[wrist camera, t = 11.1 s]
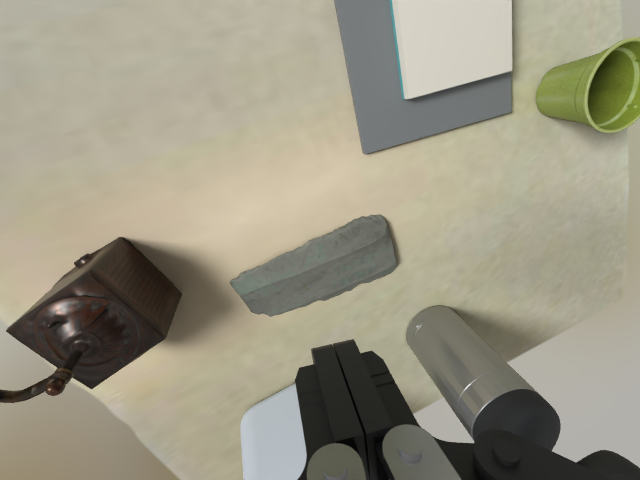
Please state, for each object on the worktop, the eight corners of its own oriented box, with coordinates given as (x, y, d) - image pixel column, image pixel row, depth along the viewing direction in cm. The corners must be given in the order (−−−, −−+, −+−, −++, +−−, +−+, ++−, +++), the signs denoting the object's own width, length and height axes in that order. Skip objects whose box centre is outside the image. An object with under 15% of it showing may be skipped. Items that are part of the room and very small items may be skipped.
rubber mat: (504, -84, 35) (510, -88, 35) (507, 111, 43) (511, 111, 43) (326, -43, 34) (328, -47, 33) (362, 153, 41) (364, 154, 41)
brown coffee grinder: (118, 229, 39) (24, 316, 23) (184, 293, 43) (146, 405, 27) (14, 304, 40) (-151, 441, 23) (90, 359, 44) (-4, 507, 28)
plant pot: (581, 35, 42) (659, 18, 34) (591, 106, 46) (664, 106, 38) (516, 74, 42) (579, 66, 34) (532, 142, 46) (592, 148, 38)
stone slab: (394, 262, 50) (379, 206, 45) (402, 273, 48) (387, 214, 43) (256, 322, 49) (225, 271, 44) (258, 335, 47) (225, 283, 42)
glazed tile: (389, 0, 35) (499, -27, 37) (402, 99, 39) (501, 72, 41) (396, -6, 34) (511, -34, 35) (409, 99, 38) (512, 70, 39)
